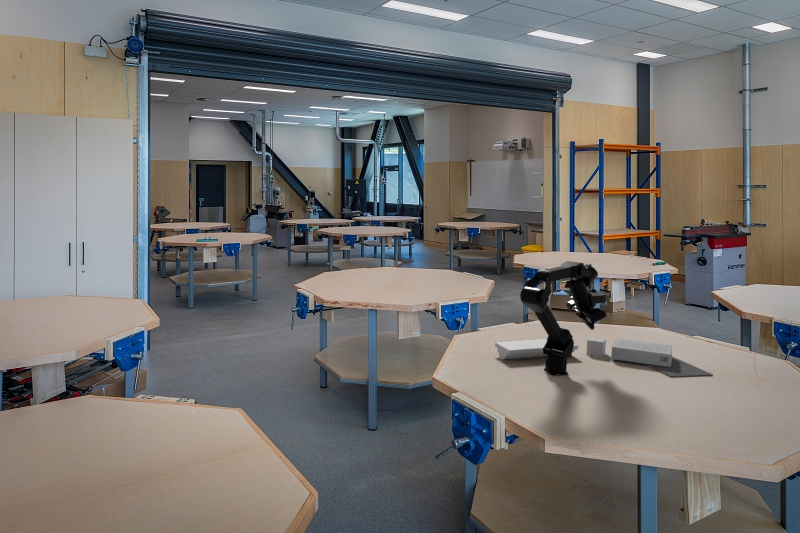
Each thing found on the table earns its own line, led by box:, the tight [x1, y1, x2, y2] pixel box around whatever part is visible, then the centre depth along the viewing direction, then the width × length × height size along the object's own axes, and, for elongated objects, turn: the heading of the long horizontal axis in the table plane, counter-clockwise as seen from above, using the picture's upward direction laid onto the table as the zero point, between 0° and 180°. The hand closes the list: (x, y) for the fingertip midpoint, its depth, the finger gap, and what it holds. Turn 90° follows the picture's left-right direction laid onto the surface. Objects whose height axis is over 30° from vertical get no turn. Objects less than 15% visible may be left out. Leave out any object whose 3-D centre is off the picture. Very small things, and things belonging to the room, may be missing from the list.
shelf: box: [494, 338, 579, 361], centre depth 222 cm, size 12×30×5 cm, turn 108°
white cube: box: [585, 336, 607, 358], centre depth 227 cm, size 6×6×6 cm
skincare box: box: [610, 338, 673, 367], centre depth 220 cm, size 21×5×16 cm
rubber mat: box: [644, 356, 714, 378], centre depth 213 cm, size 17×25×1 cm
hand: (592, 329), depth 210 cm, fingers closed
